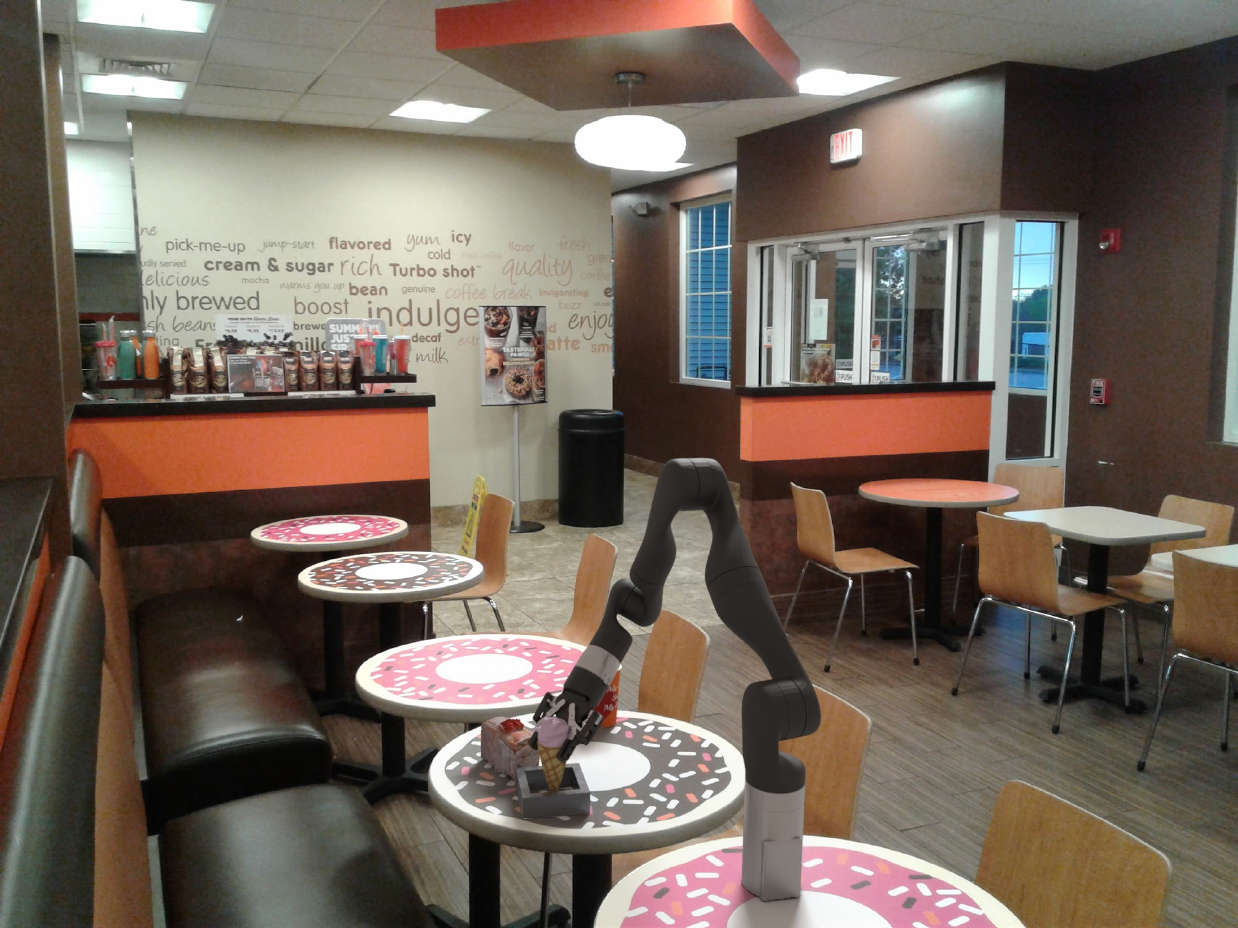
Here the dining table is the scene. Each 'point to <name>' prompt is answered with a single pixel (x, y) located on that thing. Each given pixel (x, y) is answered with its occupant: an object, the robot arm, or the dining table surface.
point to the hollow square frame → (552, 793)
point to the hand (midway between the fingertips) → (546, 753)
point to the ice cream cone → (552, 749)
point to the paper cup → (610, 702)
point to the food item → (507, 745)
